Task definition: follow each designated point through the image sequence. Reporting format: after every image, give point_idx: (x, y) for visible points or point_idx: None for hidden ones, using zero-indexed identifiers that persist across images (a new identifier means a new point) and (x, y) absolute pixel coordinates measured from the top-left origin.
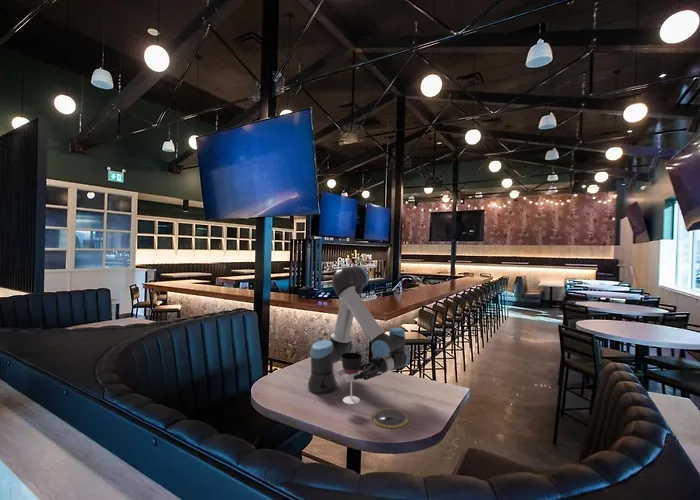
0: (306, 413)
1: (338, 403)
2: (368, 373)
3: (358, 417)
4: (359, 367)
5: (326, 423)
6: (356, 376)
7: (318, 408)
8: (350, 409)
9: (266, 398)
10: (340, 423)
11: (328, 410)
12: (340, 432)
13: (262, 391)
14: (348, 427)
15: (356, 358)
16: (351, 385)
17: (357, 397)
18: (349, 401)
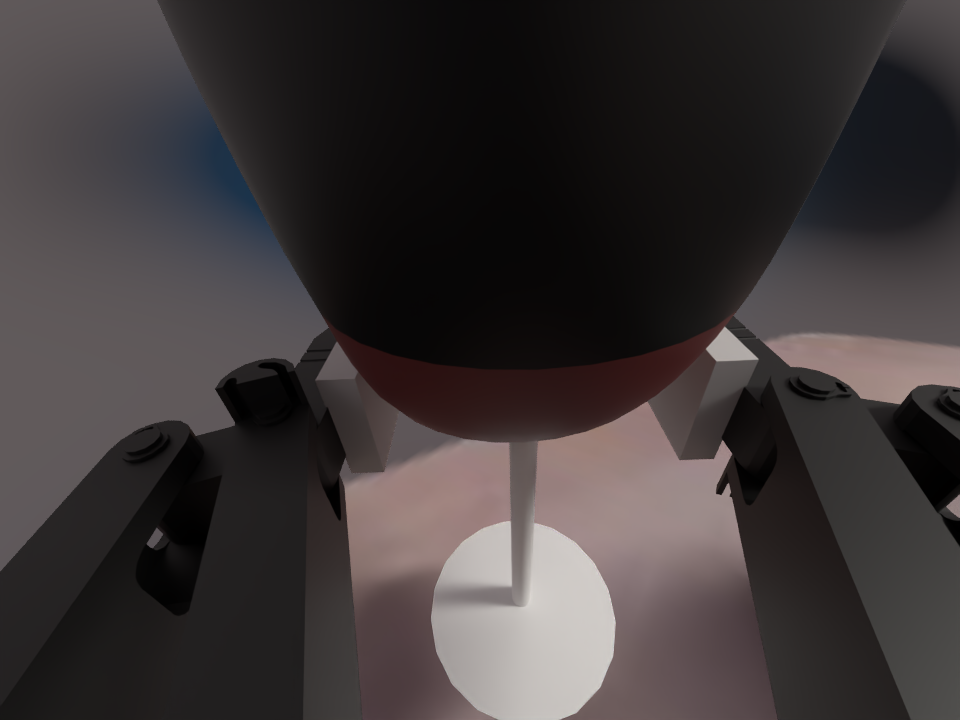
0: (646, 427)
1: (751, 671)
2: (38, 538)
3: (432, 676)
4: (308, 292)
5: (502, 457)
6: (313, 341)
7: (690, 494)
8: (594, 707)
9: (856, 357)
10: (455, 513)
11: (642, 532)
12: (386, 471)
13: (955, 361)
14: (387, 527)
15: (768, 72)
16: (512, 506)
17: (534, 717)
18: (489, 555)
